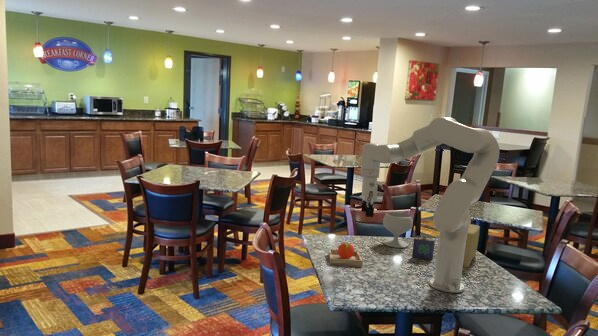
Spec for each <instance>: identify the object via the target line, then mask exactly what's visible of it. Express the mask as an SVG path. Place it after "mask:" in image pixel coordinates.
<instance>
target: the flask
mask: <svg viewBox="0 0 598 336" xmlns="http://www.w3.org/2000/svg"><path fill="white" fill-rule="evenodd" d="M435 242H436V240H435V239H433V238H431V239H430V238H428V236H427V235H425V234H424V235H423V236H422V237H419V236H418V237H414V238H413V247H412V255H411V257H412V258H411V259H416V260H417V259H418V260H424V261H426V260H427V261H428V260H429V261H433V259H434V252H435V244H436V243H435Z"/></svg>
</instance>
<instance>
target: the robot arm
mask: <svg viewBox="0 0 598 336" xmlns="http://www.w3.org/2000/svg"><path fill="white" fill-rule="evenodd" d="M443 144H444V145H445V146H448V147H451V148H454V149H456V150H458V151H462V152H464V153H469V154H473V156H472V158H471V159H470V161H469V162H468V164H467V166H466V168H465V171H464V172H463V174H462V176H461V177H460V178H459V179H457V180H454V181H452V182H451V183H449V185H448V186H447V187H446V189H445V191H444V193H443V194H442V197H441V199H440V201H439V202H438V205H437V206H436V209H435V211H434V213H433V217H432V221H433V223H432V224H433V226H434V228H435V229H436V230H437V231H439V236H438V244H437V251H436V258H435V259H436V260H435V266H434V267H435V268H434V269H435V270H434V275H433V278H430V279H429V283H428V284H429V285H430V286H431V287H432V288H433V289H435V290H438V291H441V292H446V293H450V294H451V293H453V294H454V293H462V292H464V291H465V285H464V284H463V283H462V276H463V275H462V274H463V267H464V266H463V260H464V252H465V245H466V239H467V233H468V229H469V225H470V224H471V213H470V211H469V208H470V206H471V205H473V204H475V203H477V202H479V200H480V198H481V196H482V194H483V192H484V190H485V188H486V186H487V185H488V182H489V180H490V178H491V176H492V174H493V172H494V170H495V168H496V166H497V164H498V161H499V159H500V145H499V143H498V140H497V138H496V137H495V136H494V134H492V132H490V131H489V130H487V129H484V128H476V127H475V128H473V127H469V126H467V125H465V124H462V123H459V122H458V121H457V119H455V118H453V117H446V116H439V117H435V118H434V119H432V120H431V121H430V123H429V124H428V125H425V126H423V127H421V128H418V129H416V130H414V131H413V134H412V135H411V136H410V137H408V138H407V139H405V140H402V141H399V142H397V143H394V144H393V143H391V144H378V143H371V142H370V143H368V142H367V143H364V144H363V145H362V151H361V152H362V155H361V164H360V165H361V169H360V177H361V178H362V184H361V185H362V186H361V198H362V200H361V210H360V211H361V212H362V213H365V218H373V217H374V215H375V213H374V212H375V203H377V201H378V179H379V178H380V169H381V164H395V163H400V162H402V161H405V160H408V159H411V158H412V157H415V156H416V155H420V154H422V153H423V152H425V151H428V150H430V149H432V148H435V147H438V146H441V145H443Z"/></svg>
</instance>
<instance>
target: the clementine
mask: <svg viewBox="0 0 598 336" xmlns="http://www.w3.org/2000/svg"><path fill="white" fill-rule="evenodd" d="M337 250H338V254H339V256H340V257H341V258H343V259H349V258H351V257H352V256H353V254H354V251H355V247H354V246H353V245H352V244H351V243H350V242H342V243H340V245H338V247H337Z"/></svg>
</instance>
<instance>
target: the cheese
mask: <svg viewBox="0 0 598 336" xmlns="http://www.w3.org/2000/svg"><path fill="white" fill-rule="evenodd" d="M480 229H481V226H479V225H477V224H471V223H470V225H469V229H468V233H467V239H466V245H465V252H464V260H463V267H464V268H469V267H470V265H471V262H472V260H473V259H474V258H475V256H476V254H477V250H478V244H479V239H480V238H479V237H480Z"/></svg>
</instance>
